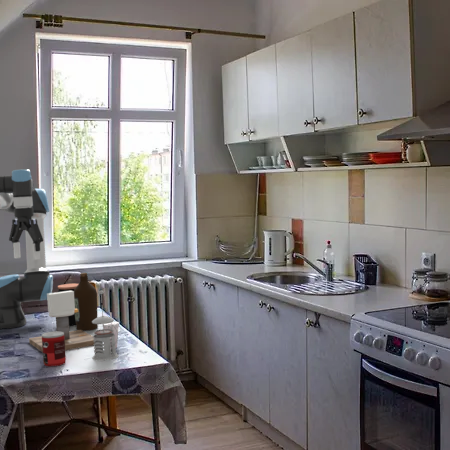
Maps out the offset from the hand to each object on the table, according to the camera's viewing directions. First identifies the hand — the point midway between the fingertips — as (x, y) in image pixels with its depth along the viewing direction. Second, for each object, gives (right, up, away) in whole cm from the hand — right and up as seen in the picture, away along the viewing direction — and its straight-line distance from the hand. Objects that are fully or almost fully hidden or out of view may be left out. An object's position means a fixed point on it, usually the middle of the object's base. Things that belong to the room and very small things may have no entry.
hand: (27, 258), depth 269 cm
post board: (+16, -34, -4) cm, 38 cm away
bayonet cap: (+16, -22, -5) cm, 28 cm away
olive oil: (+20, -33, +22) cm, 44 cm away
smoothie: (+38, -34, -14) cm, 53 cm away
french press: (+38, -35, -28) cm, 59 cm away
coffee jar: (+11, -32, +34) cm, 48 cm away
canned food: (+20, -37, -33) cm, 53 cm away
